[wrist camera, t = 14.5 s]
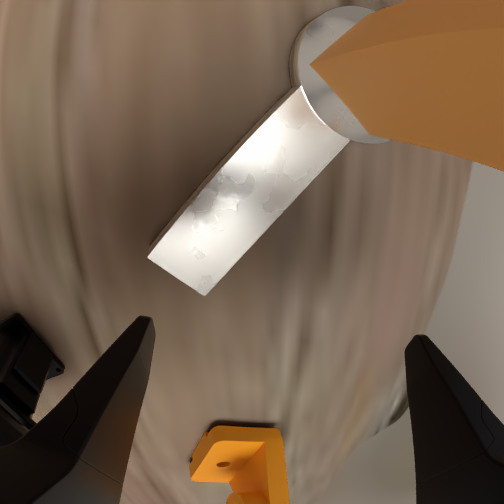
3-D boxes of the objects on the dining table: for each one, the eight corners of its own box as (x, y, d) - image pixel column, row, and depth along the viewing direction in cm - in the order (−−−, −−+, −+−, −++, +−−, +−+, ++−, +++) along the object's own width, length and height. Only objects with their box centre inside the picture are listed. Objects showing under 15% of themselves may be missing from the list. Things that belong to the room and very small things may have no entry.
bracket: (212, 418, 27) (234, 526, 17) (276, 422, 30) (310, 516, 19) (186, 463, 31) (199, 547, 20) (241, 465, 33) (261, 543, 23)
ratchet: (228, 300, 22) (240, 345, 18) (120, 225, 18) (103, 259, 14) (425, 88, 18) (472, 91, 14) (349, -9, 14) (390, -30, 10)
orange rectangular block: (369, 135, 17) (558, 194, 6) (309, 64, 14) (509, 28, 3) (418, 82, 16) (590, 104, 5) (366, 14, 13) (544, -26, 2)
